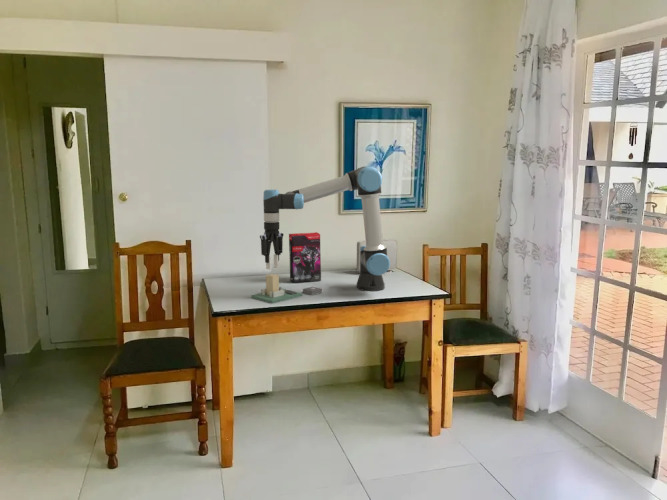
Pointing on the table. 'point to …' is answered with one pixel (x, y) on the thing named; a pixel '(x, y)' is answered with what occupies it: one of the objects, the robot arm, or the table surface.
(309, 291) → the fan block
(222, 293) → the table surface
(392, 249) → the network device
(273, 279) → the plug
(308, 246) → the graphics card box
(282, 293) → the board
